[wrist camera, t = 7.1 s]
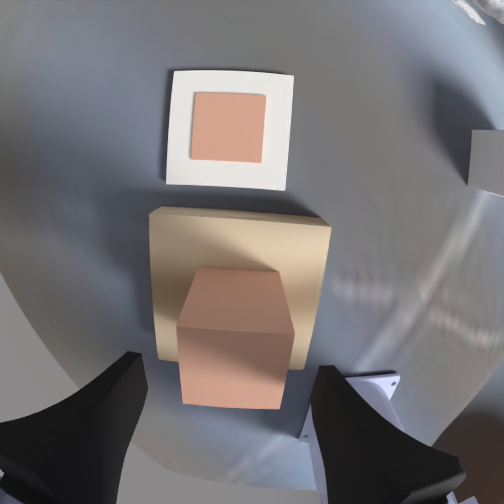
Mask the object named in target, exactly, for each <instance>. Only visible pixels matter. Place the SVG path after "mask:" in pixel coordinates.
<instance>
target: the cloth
mask: <svg viewBox="0 0 504 504" xmlns="http://www.w3.org/2000/svg"><path fill="white" fill-rule="evenodd" d="M451 1H453V2H454V3H455V4H457V5H458V6H460V7H461V8H462V9H463V10H464V11H465V12H466V13H467V14H468V15H469V16H470V17H471V18H473V19H474V20H475V21H476V22H478V23H481V24H484V25H486V23H485V21H484V20H483V19H482V18H481V16H480V15H479V14H478V12H477V11H476V10H475V8H474V7H473V6H472V5H471V4H470V3H469V2H468V0H451ZM471 1H472V2H473V3H474V4H475V5H476V6H477V7H478V8H480V9H481V10H482V11H483V12H485V13H486V14H487V15H489V16H492V17H494V18H495V19H497V20H498V21H499V22H500V23H501V24H504V0H471Z"/></svg>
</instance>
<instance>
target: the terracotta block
mask: <svg viewBox="0 0 504 504" xmlns="http://www.w3.org/2000/svg"><path fill="white" fill-rule="evenodd" d="M176 333H177V347H178V359H179V370H180V380H181V390H182V398H183V403H184V404H193V405H202V406H214V407H227V408H247V409H280V405H281V401H282V396H283V391H284V387H285V382H286V377H287V372H288V368H289V363H290V358H291V353H292V347H293V342H294V337H295V331H294V327H293V323H292V319H291V316H290V312H289V308H288V304H287V300H286V296H285V292H284V288H283V285H282V281H281V277H280V273H279V272H272V271H256V270H240V269H225V268H211V267H198V270H197V272H196V275H195V277H194V280H193V282H192V285H191V288H190V290H189V293H188V295H187V298H186V301H185V303H184V306H183V309H182V311H181V314H180V317H179V320H178V322H177V325H176Z"/></svg>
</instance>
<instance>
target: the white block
mask: <svg viewBox="0 0 504 504" xmlns="http://www.w3.org/2000/svg"><path fill="white" fill-rule="evenodd" d="M467 186H468V187H471V188H475V189H478V190H482V191H485V192H488V193H491V194H495V195H498V196H501V197H504V130H472V139H471V155H470V167H469V176H468V185H467Z"/></svg>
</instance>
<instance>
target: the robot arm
mask: <svg viewBox="0 0 504 504" xmlns="http://www.w3.org/2000/svg"><path fill="white" fill-rule="evenodd" d="M399 380H400V376H399V374H398V373H395V374H385V375H375V376H363V377H349V378H344V376H343V375H342V374H341V373H340V372H339V371H338V370H337V368H336V367H335V366H334V365H327V366H319V370H318V373H317V377H316V381H315V384H314V388H313V391H312V395H311V398H310V407H309V410H308V413H307V416H306V419H305V422H304V425H303V428H302V431H301V434H300V437H299V443H301V444H308V443H309V448H310V454H311V459H312V465H313V470H314V476H315V482H316V486H317V489H318V491H319V492H320V494H321V495H320V499H321V504H457V501H456V498H455V496H454V494H453V490H454V489H455V488H456V487H457V486H459V485H460V484H461V483H462V481H463V480H464V479H465V477H466V472H465V470H464V468H463V466H462V464H461V462H460V460H459V459H458V457H455V456H453V455H450V454H447V453H444V452H441V451H438V450H436V449H434V448H432V447H430V446H427V445H425V444H423V443H421V442H419V441H418V440H416V439H414V438H412V437H411V436H409V435H407V434H406V433H405V431H404V429H403V427H402V425H401V423H400V421H399V419H398V416H397V414H396V412H395V410H394V408H393V406H392V404H391V402H390V398H391V396H392V394H393V392H394V390H395V388H396V386H397V384H398V382H399ZM147 390H148V386H147V381H146V376H145V371H144V365H143V360H142V354H141V353H135V352H129V351H128V352H126V353H125V354H124V355H123V356H122V357H120V358H119V359H118V360H117V361H116V362H114V363H113V364H112V365H111V366H110V367H109V368H107V369H106V370H105V371H104V372H103V373H101V374H100V375H99V376H98V377H96V378H95V379H94V380H93V381H91V382H90V383H88V384H87V385H86V386H84V387H83V388H82V389H80V390H79V391H77V392H76V393H74V394H73V395H71V396H69V397H68V398H66V399H64V400H62V401H61V402H59V403H57V404H55V405H53V406H51V407H48V408H46V409H44V410H42V411H40V412H37V413H34V414H32V415H29V416H26V417H23V418H19V419H16V420H11V421H6V422H1V423H0V469H1V470H2V471H3V472H4V475H3V477H0V504H116V501H117V494H118V487H119V481H120V477H121V471H122V467H123V462H124V458H125V455H126V451H127V448H128V446H129V443H130V441H131V438H132V435H133V433H134V430H135V428H136V425H137V423H138V420H139V418H140V415H141V412H142V410H143V407H144V403H145V399H146V394H147ZM459 504H478V503H477V500H476V498H475V497H471V498H469V499H467V500H465V501H463V502H461V503H459Z"/></svg>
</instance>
